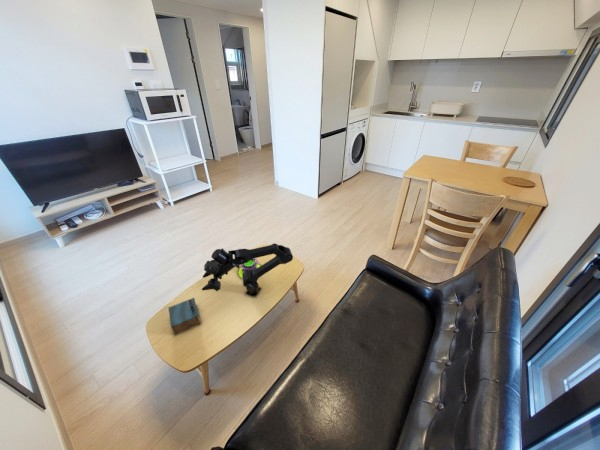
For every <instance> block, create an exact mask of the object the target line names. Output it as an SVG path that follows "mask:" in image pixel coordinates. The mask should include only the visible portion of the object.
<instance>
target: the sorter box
mask: <svg viewBox="0 0 600 450" xmlns="http://www.w3.org/2000/svg"><path fill="white" fill-rule="evenodd" d="M199 325H201V319H200V315H199V316H197V317H195V318H192V319H190V320H188V321H185V322H183V323H181V324H178V325H176V326H174V327H171V329H172V331H173V333H174V335H179V334H182V333H183V332H185V331H188V330H190V329H192V328H194V327H197V326H199Z"/></svg>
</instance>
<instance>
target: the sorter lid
mask: <svg viewBox="0 0 600 450" xmlns="http://www.w3.org/2000/svg"><path fill="white" fill-rule="evenodd" d="M168 314H169V320H170V327H171V328H172V327H174V326H176V325H178V324H181V323H183V322H185V321H188V320H190V319H192V318H195V317H197V316H199V317H200V315H199V310H198V307H197V304H196V299H195V297H192V298H189V299H187V300H184V301H182V302H179V303H177V304H174V305H172V306H169V307H168Z"/></svg>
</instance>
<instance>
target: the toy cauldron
mask: <svg viewBox="0 0 600 450" xmlns="http://www.w3.org/2000/svg"><path fill="white" fill-rule="evenodd" d="M260 266H261V265H260V264H259V260H258V259H257V258H254V259H251V260H250V261H249V262H247V263H244V264H241V265H240V266H239V269H238V276H239V278H240V279H242V275H243V273H244V272H245V271H247V270H248V269H250V270H255V269H257V268H258V267H260Z"/></svg>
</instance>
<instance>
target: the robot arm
mask: <svg viewBox="0 0 600 450" xmlns="http://www.w3.org/2000/svg"><path fill="white" fill-rule="evenodd" d="M270 255H275V256H274V257H273V258H271V259H269V260H268V261H266V262H265V263H263V264H261V265H260V267H258V268H257V269H255V270H250V269H248V270H247V271H245V272H244V273H243V275H242V278H241V279H242V285H243V286H244V287H245V288H246V292H245V294H246V295H249V296H252V297H254V298H255V297H257V295H258V294H259V293H260V291H261V287H260V285H259V282H258V280H259V278H261V277H262V276H264V275H265V274H267V273H268V272H270V271H271V270H273V269H275V268H276V267H278V266H279V265H286V264H288V263H290V262H292V261H293V258H294V255H293V252H292V251H291V248H289V247H287V246H284V245H283V244H278V243H272V244H269V245H265V246H260V247H256V248H252V249H249V248H238V249H234V250H233V249H231V250H228V252H227V251H226V250H225V249H224V248H216V249H215V250H214V251H213V252H212V254H211V260H206V262H205V264H204V265H203V271H204V274H203V275H202V278H208V277H210V276H212V278H210V279H209V280H208V281H207V284H206V285H204V286H203V287H202V288H201V291H211V290H214V291H215V292H218V291H220V290H221V286H222V285H221V281H219V280H221V279H223V276H224V275H226V276H228V275H229V272H230V271H232V270H234V269H235V268H237V269H238V270H239V269H240V266H241V264H244V263H247V262H249V261H250V260H251V259H254V258H256V259H257V258H262V257H265V256H270Z"/></svg>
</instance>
